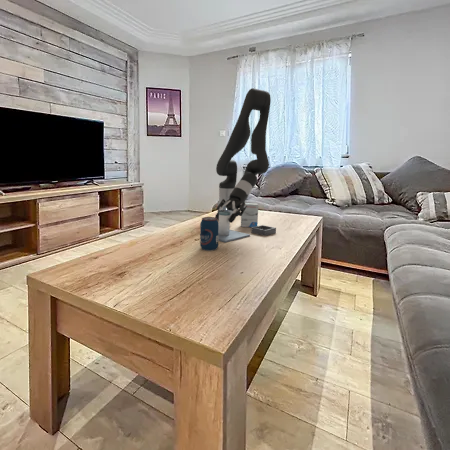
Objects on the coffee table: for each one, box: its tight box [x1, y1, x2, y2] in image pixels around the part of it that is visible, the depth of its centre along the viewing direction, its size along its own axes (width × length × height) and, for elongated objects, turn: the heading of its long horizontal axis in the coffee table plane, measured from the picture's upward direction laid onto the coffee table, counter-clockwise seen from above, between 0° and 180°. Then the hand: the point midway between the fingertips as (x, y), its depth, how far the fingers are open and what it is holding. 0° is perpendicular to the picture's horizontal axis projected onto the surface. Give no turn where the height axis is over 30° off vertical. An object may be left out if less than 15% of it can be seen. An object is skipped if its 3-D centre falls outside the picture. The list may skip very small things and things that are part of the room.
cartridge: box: [218, 211, 231, 236], centre depth 140 cm, size 5×5×10 cm
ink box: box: [240, 202, 259, 228], centre depth 161 cm, size 8×5×12 cm, turn 84°
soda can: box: [199, 216, 219, 252], centre depth 120 cm, size 7×7×12 cm
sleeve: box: [251, 224, 277, 237], centre depth 148 cm, size 8×8×2 cm
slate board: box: [218, 229, 251, 243], centre depth 141 cm, size 16×16×1 cm
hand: (223, 220), depth 139 cm, fingers open, 8 cm apart
